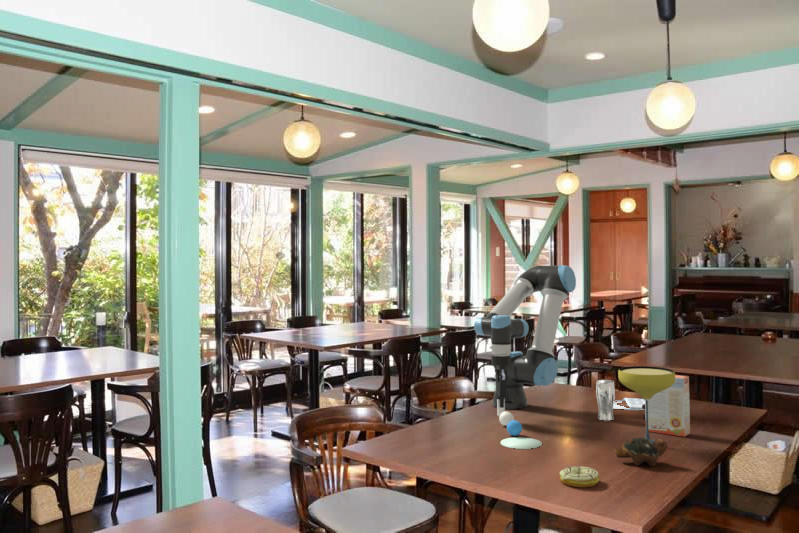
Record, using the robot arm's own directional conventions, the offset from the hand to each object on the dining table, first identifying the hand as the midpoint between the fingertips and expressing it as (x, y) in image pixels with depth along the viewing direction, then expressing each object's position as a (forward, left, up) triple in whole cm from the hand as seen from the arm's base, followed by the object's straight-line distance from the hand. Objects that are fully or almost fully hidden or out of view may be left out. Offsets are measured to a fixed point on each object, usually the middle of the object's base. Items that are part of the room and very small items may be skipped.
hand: (501, 415), depth 254 cm
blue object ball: (+18, -9, 0) cm, 20 cm away
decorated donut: (+65, -28, -3) cm, 71 cm away
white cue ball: (+6, -2, 0) cm, 6 cm away
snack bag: (+10, +62, -4) cm, 63 cm away
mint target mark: (+26, -14, -3) cm, 30 cm away
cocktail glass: (+52, +19, -3) cm, 56 cm away
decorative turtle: (+64, 0, -3) cm, 64 cm away
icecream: (+35, +52, -3) cm, 62 cm away
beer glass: (+21, +35, -3) cm, 41 cm away
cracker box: (+47, +37, -3) cm, 60 cm away
